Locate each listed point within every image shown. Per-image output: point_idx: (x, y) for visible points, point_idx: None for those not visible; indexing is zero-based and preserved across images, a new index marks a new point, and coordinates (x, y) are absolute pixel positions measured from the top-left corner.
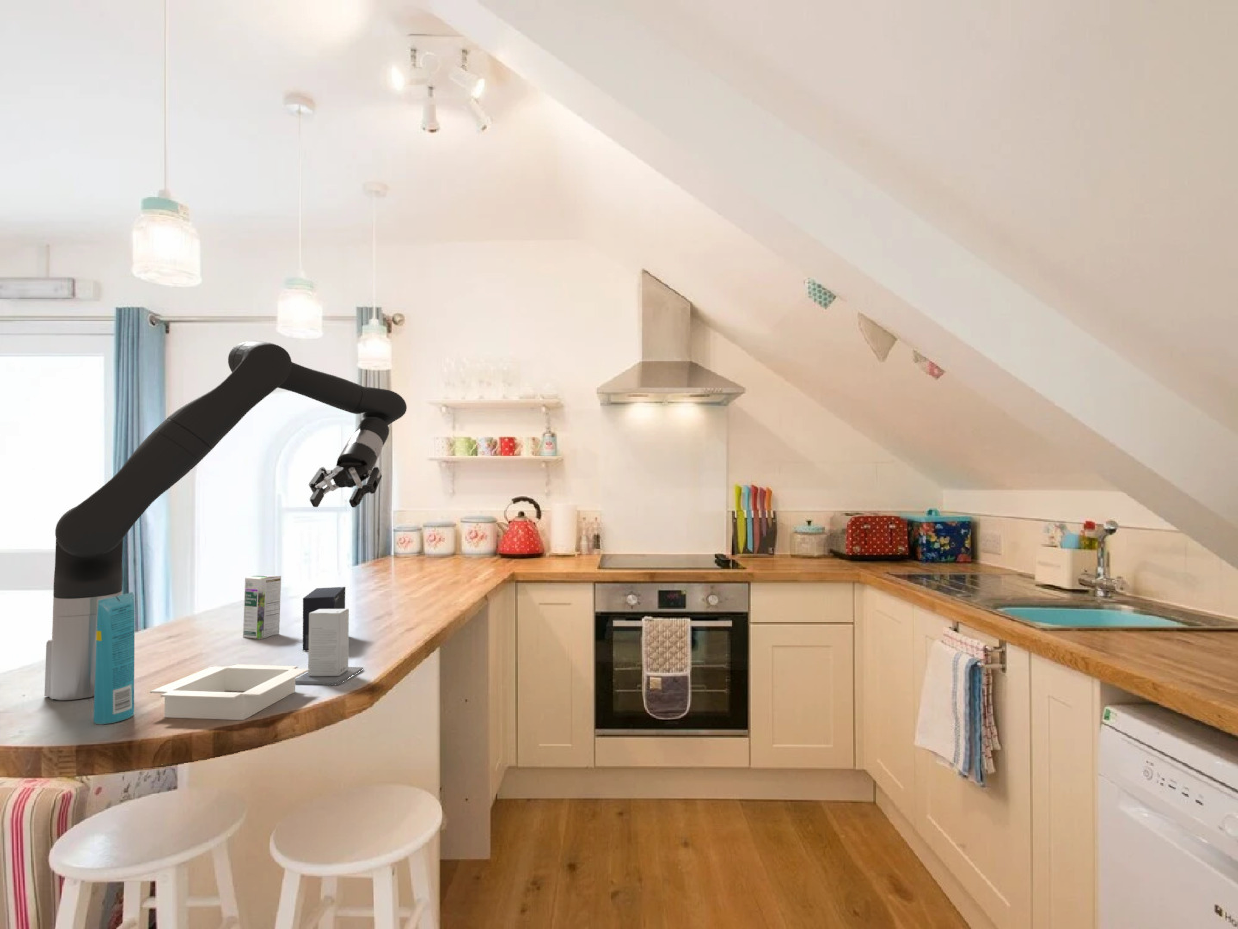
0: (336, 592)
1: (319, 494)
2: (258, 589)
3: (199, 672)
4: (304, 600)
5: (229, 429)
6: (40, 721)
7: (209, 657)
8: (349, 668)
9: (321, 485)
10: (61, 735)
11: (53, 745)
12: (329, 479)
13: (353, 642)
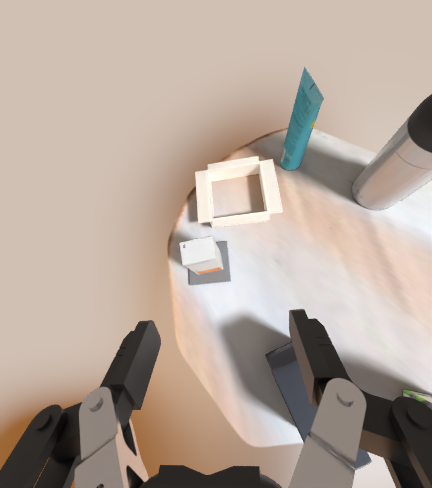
0: (293, 410)
1: (304, 360)
2: None
3: (278, 197)
4: None
5: None
6: (333, 148)
7: (379, 298)
8: (199, 279)
9: (325, 401)
10: None
11: (282, 131)
12: (300, 459)
13: (263, 390)
